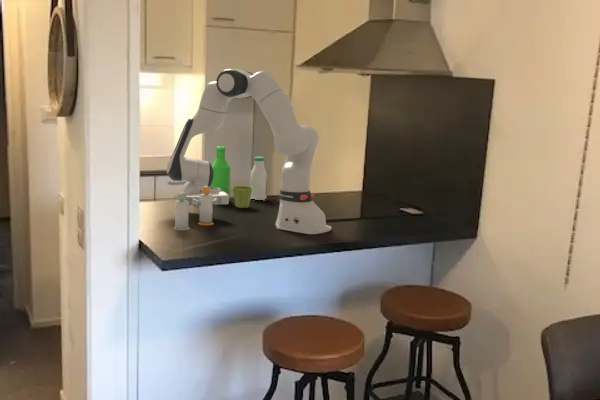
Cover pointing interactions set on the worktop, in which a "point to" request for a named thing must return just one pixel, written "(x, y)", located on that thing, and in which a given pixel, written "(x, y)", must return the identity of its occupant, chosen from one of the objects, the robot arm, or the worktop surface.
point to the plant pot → (242, 196)
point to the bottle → (221, 171)
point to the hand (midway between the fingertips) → (206, 203)
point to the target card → (200, 224)
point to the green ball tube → (181, 212)
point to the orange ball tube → (206, 205)
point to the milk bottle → (258, 180)
